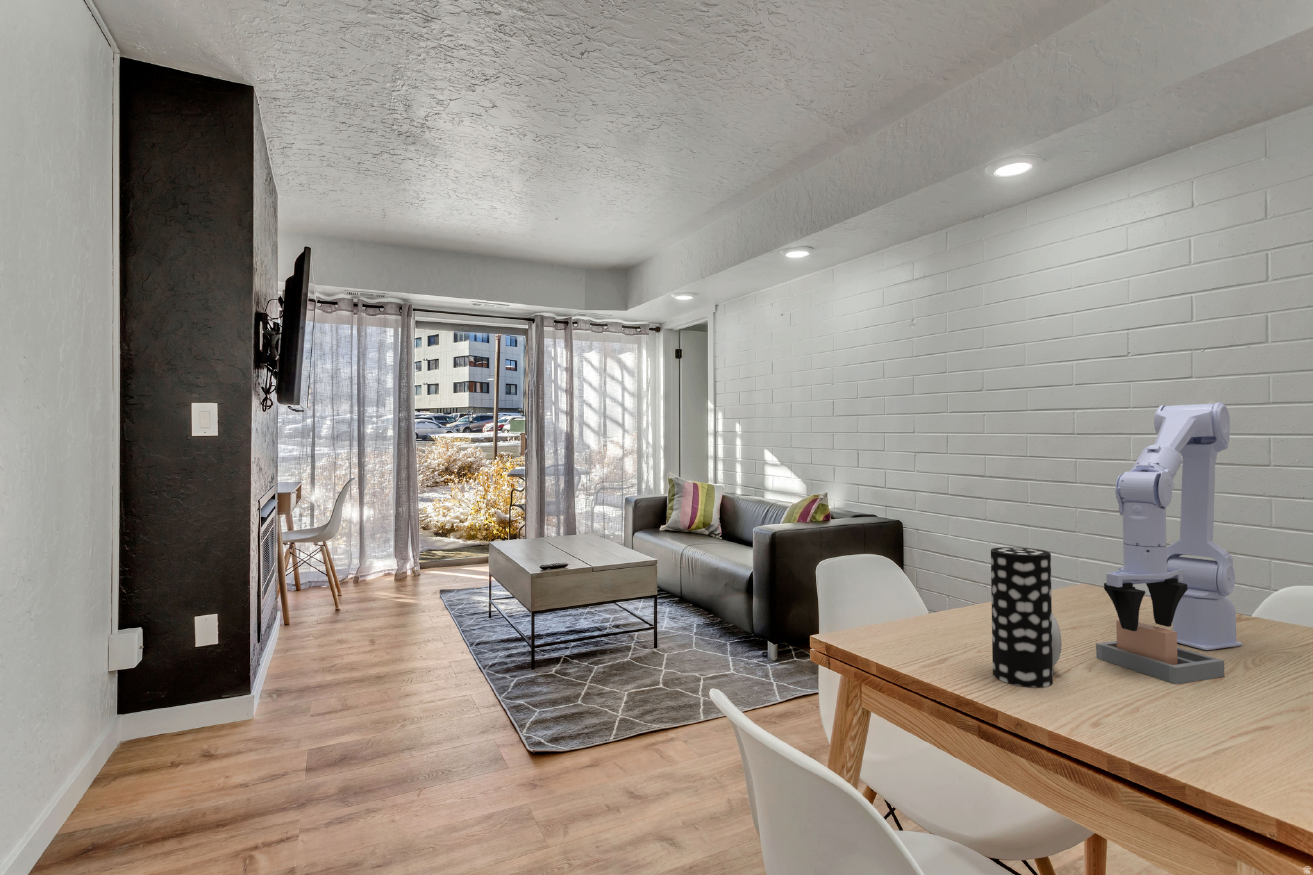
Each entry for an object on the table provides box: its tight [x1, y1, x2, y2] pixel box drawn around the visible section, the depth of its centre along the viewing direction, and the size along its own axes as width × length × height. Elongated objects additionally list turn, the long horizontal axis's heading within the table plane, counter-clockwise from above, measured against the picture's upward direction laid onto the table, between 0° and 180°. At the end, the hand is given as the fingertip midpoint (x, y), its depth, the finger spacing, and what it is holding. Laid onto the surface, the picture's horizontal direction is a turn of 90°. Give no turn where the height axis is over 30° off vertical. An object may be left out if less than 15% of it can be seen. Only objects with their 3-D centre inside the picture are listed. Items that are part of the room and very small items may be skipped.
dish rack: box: [1095, 640, 1225, 685], centre depth 107 cm, size 11×13×2 cm
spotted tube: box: [990, 546, 1054, 688], centre depth 103 cm, size 8×8×20 cm
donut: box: [1052, 613, 1062, 667], centre depth 108 cm, size 10×4×10 cm, turn 170°
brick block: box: [1115, 619, 1178, 665], centre depth 107 cm, size 2×8×7 cm, turn 17°
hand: (1146, 627), depth 107 cm, fingers open, 7 cm apart
